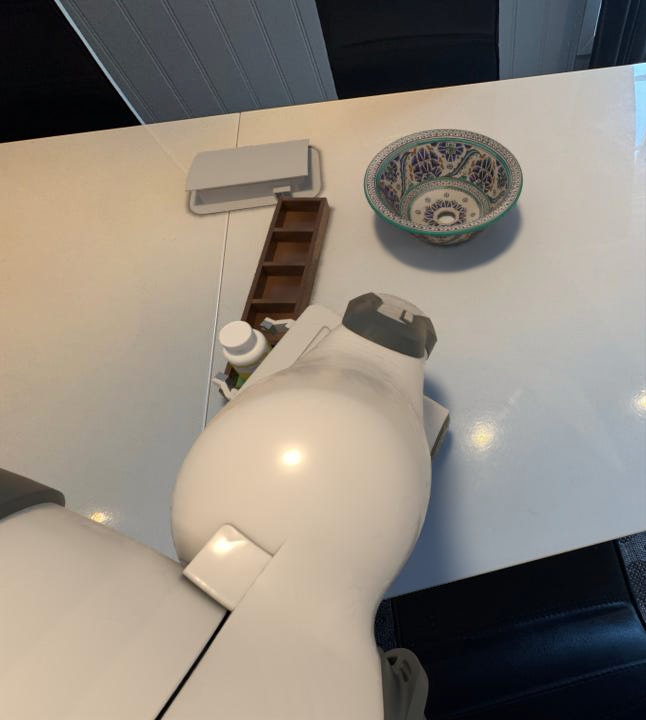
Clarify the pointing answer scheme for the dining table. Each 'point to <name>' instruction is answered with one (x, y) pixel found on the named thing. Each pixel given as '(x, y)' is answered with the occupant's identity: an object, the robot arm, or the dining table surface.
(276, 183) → the grey hinged lid tray
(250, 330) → the supplement bottle
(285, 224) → the rack
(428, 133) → the bowl
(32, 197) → the dining table surface
